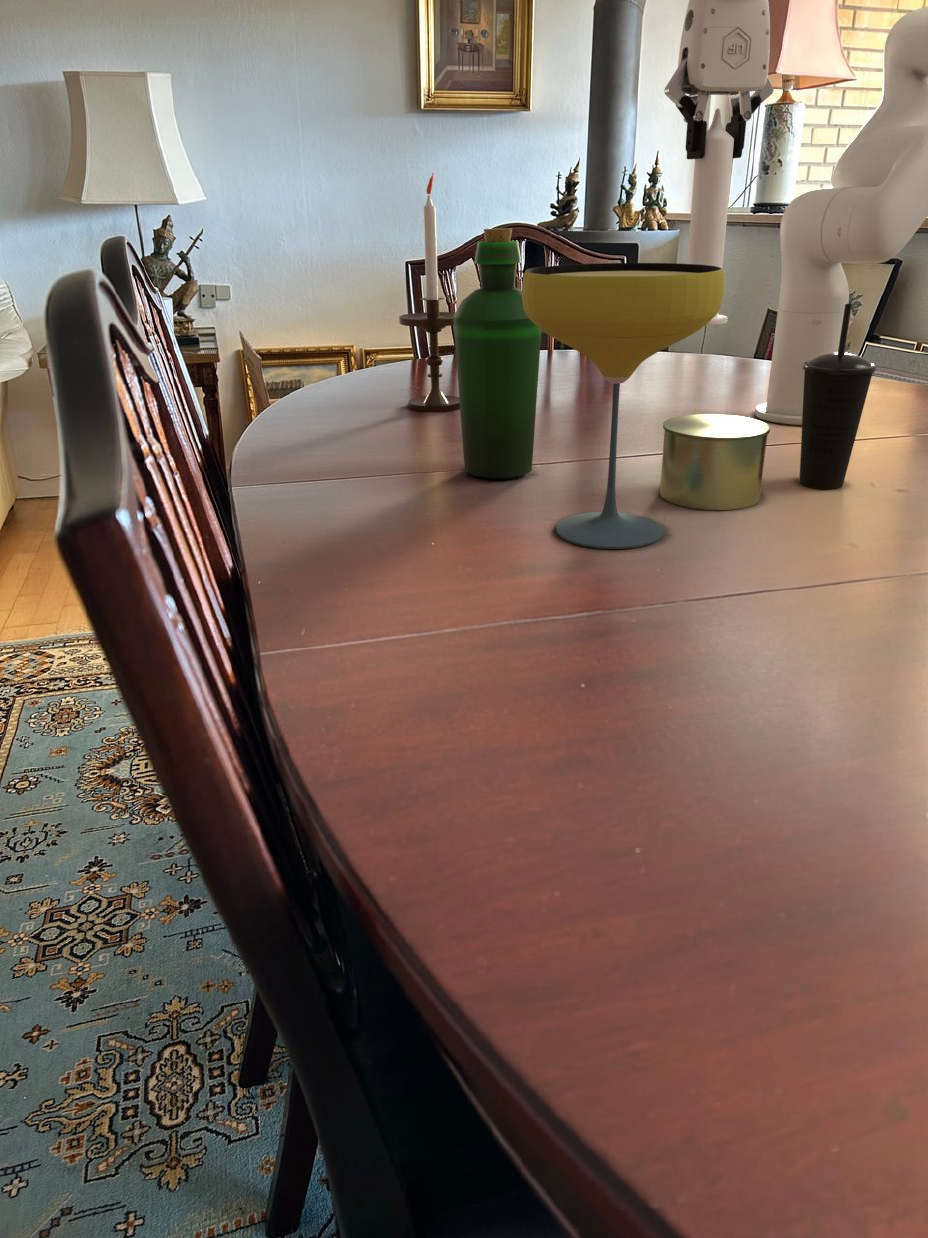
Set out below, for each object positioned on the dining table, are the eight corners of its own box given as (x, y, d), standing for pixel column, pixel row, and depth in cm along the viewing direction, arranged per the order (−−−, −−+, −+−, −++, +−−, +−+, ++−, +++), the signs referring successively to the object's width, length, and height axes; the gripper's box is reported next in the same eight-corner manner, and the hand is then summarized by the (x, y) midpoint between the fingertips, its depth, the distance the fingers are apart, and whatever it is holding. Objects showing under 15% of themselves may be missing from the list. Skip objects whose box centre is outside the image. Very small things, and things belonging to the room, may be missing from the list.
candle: (728, 326, 115) (750, 104, 105) (672, 326, 117) (688, 107, 106) (725, 319, 122) (745, 109, 111) (672, 319, 123) (687, 112, 113)
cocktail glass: (661, 576, 80) (685, 278, 69) (488, 543, 89) (485, 274, 78) (723, 519, 94) (750, 263, 83) (567, 495, 102) (574, 261, 92)
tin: (724, 477, 108) (731, 410, 105) (782, 503, 98) (792, 431, 95) (640, 487, 105) (644, 419, 102) (691, 515, 95) (698, 441, 92)
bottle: (550, 464, 115) (555, 226, 103) (528, 486, 106) (531, 229, 94) (471, 458, 118) (468, 227, 106) (444, 480, 109) (436, 230, 97)
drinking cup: (823, 496, 100) (852, 309, 92) (772, 480, 106) (795, 303, 98) (870, 486, 103) (903, 304, 95) (819, 471, 109) (845, 298, 101)
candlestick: (471, 399, 154) (467, 172, 139) (465, 412, 144) (460, 170, 129) (408, 399, 155) (398, 174, 140) (398, 412, 145) (386, 172, 130)
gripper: (680, -30, 98) (667, 157, 106) (811, -24, 102) (790, 156, 110) (647, -15, 104) (638, 160, 112) (772, -10, 109) (755, 159, 116)
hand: (713, 156), depth 111 cm, fingers closed on candle, 4 cm apart
